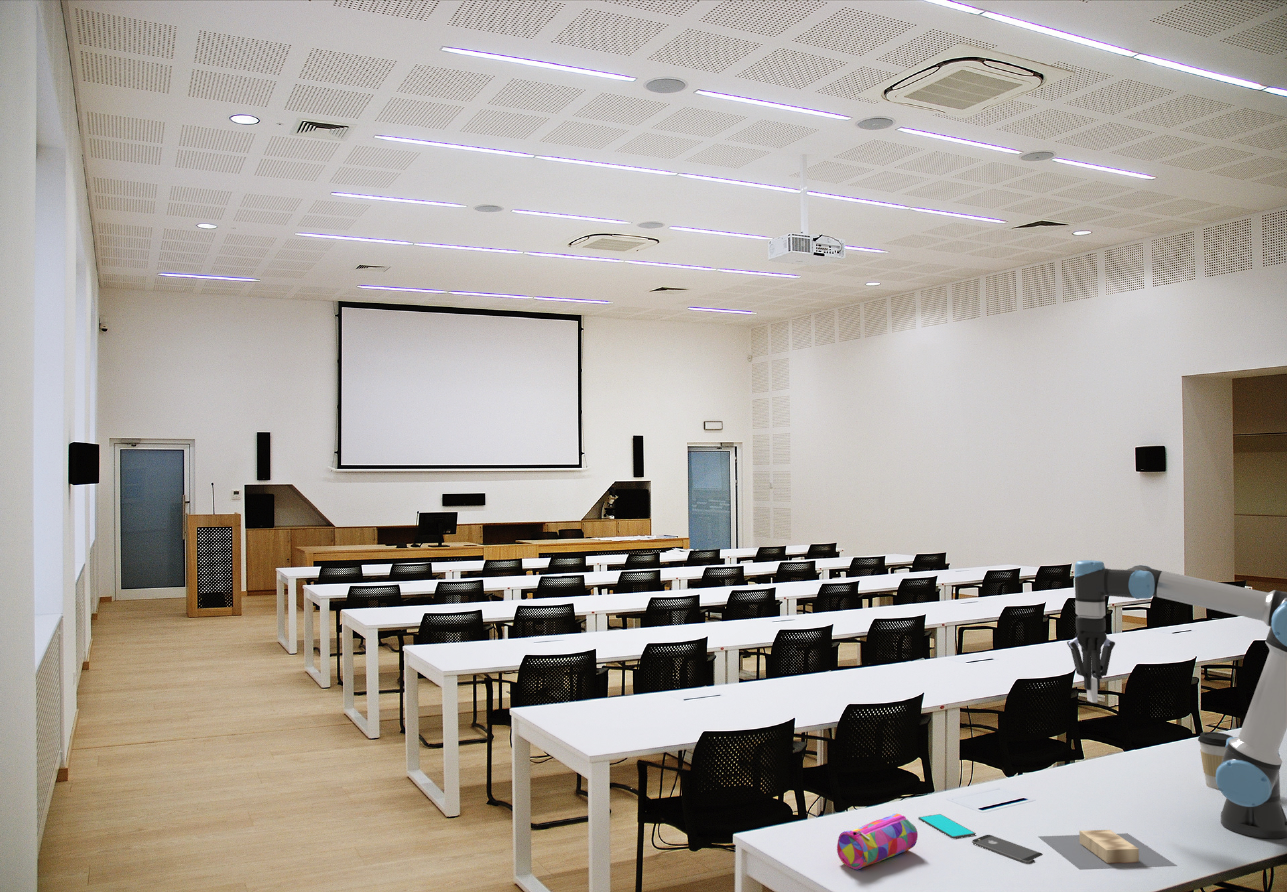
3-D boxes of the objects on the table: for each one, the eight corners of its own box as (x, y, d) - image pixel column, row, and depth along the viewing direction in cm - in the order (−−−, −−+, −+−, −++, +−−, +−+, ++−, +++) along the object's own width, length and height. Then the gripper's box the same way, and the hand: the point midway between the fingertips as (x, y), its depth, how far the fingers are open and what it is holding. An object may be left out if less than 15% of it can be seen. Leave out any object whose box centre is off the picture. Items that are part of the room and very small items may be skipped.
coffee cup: (1237, 784, 278) (1236, 734, 278) (1237, 793, 269) (1236, 742, 270) (1199, 778, 283) (1198, 729, 284) (1198, 788, 275) (1197, 737, 275)
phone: (1045, 858, 226) (988, 837, 239) (1045, 854, 226) (988, 833, 239) (1027, 865, 222) (970, 844, 235) (1027, 861, 222) (970, 840, 235)
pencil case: (864, 877, 216) (863, 838, 216) (833, 864, 223) (832, 826, 223) (921, 853, 229) (920, 817, 229) (890, 842, 236) (889, 806, 237)
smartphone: (953, 837, 238) (917, 817, 252) (953, 840, 238) (917, 820, 252) (976, 833, 240) (940, 813, 254) (976, 836, 240) (940, 816, 254)
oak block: (1110, 829, 233) (1138, 848, 221) (1110, 842, 233) (1138, 862, 221) (1079, 830, 232) (1106, 849, 220) (1079, 843, 232) (1106, 863, 220)
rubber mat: (1127, 835, 239) (1127, 833, 239) (1177, 868, 219) (1177, 865, 219) (1037, 838, 237) (1037, 836, 237) (1079, 871, 217) (1079, 869, 218)
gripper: (1105, 613, 262) (1107, 697, 261) (1060, 614, 261) (1062, 698, 260) (1120, 617, 255) (1122, 704, 254) (1075, 618, 254) (1076, 705, 253)
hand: (1092, 701), depth 257 cm, fingers closed
